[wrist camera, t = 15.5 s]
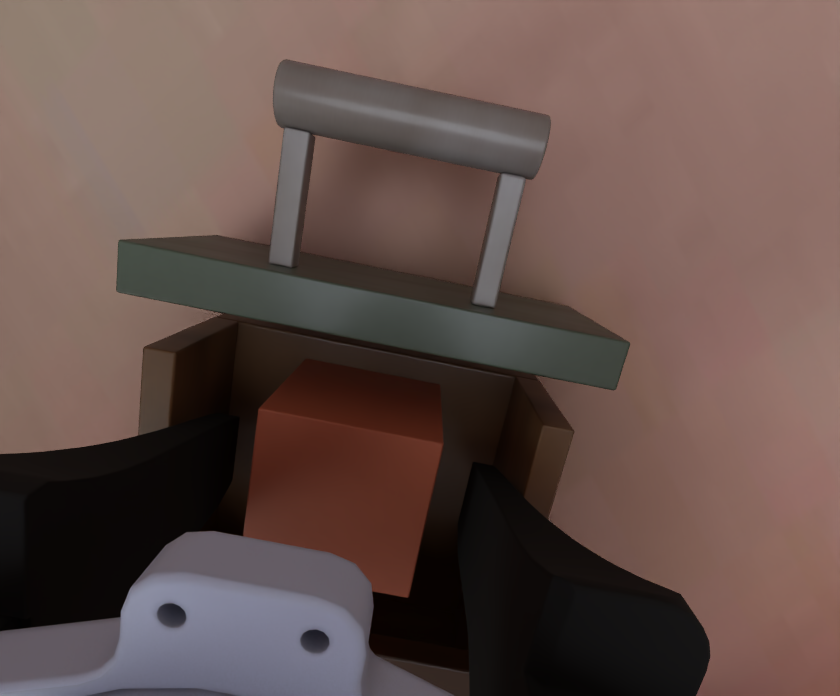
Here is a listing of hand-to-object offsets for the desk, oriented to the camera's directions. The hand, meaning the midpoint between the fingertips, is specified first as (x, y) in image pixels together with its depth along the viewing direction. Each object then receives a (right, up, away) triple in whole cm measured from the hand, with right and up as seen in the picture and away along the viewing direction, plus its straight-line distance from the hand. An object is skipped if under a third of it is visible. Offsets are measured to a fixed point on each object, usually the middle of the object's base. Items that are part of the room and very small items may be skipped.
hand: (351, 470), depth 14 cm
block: (0, +1, +2) cm, 2 cm away
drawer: (0, +2, +3) cm, 4 cm away
